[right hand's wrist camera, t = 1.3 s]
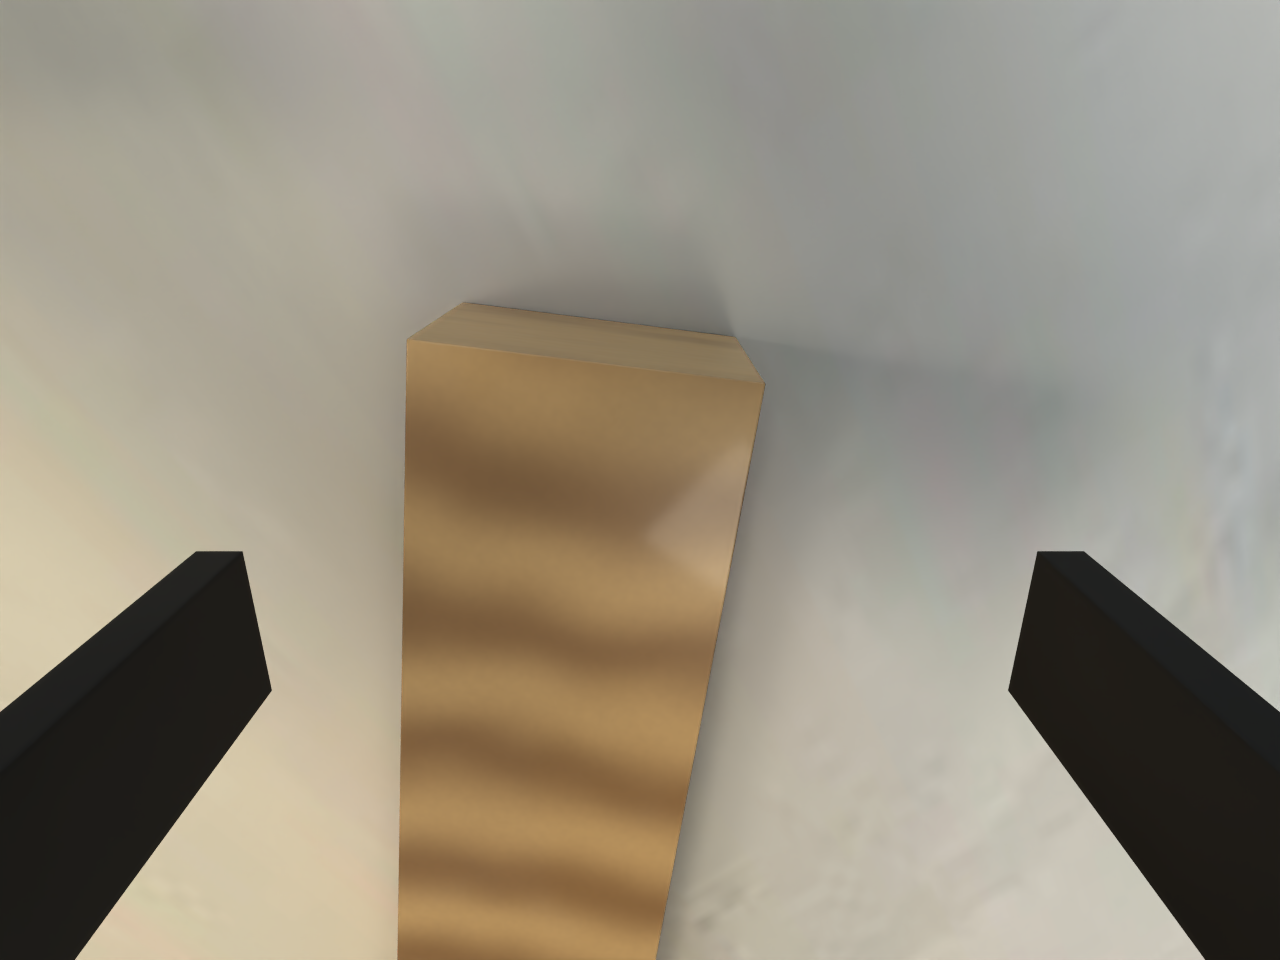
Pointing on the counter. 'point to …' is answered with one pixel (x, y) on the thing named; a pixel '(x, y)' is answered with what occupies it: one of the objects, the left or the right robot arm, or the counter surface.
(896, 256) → the counter surface
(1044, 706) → the right robot arm
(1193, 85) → the counter surface
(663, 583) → the long beam
